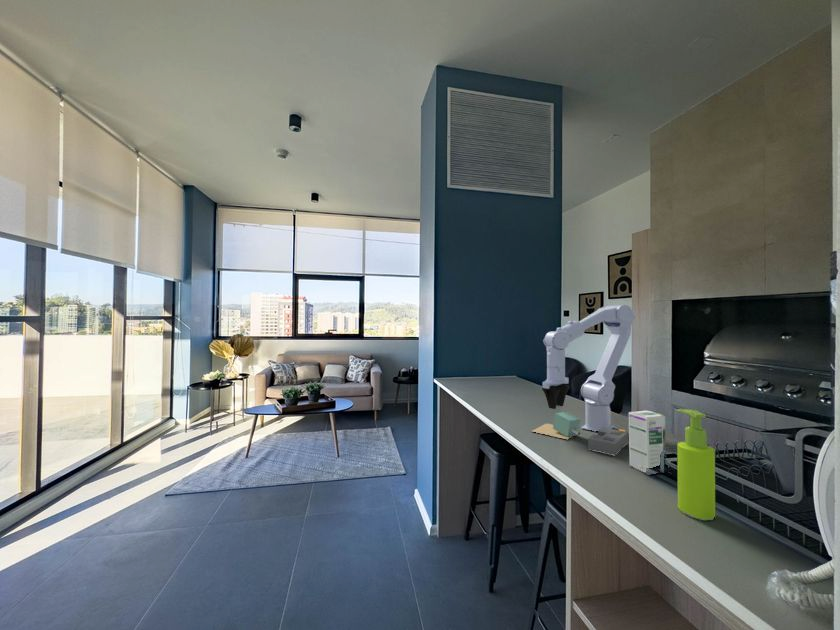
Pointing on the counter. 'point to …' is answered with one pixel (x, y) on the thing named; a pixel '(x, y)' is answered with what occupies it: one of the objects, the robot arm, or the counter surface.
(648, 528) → the counter surface
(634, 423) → the syrup box
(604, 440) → the power strip
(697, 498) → the soap dispenser
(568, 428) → the charger
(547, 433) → the cork mat
